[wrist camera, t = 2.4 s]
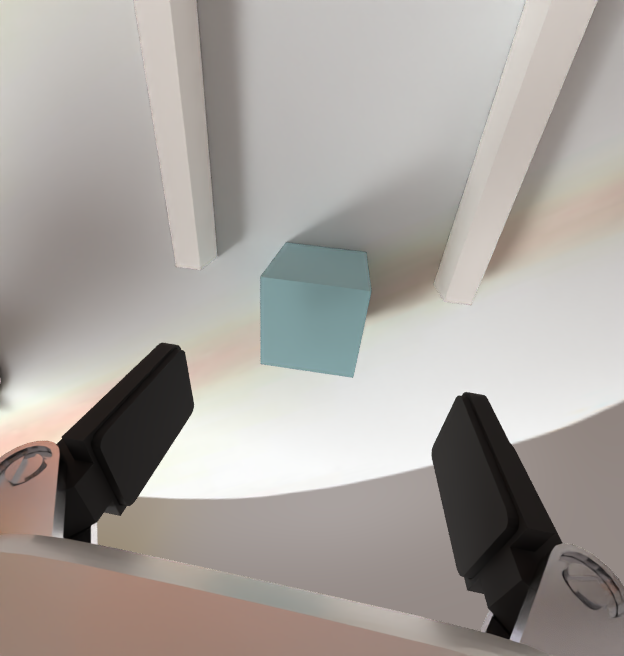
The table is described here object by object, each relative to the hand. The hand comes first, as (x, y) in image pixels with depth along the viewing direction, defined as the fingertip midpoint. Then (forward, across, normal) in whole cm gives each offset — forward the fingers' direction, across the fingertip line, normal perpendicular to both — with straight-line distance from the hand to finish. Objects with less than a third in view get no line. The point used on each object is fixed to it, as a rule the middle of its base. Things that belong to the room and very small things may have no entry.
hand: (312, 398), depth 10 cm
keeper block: (+11, +1, 0) cm, 11 cm away
